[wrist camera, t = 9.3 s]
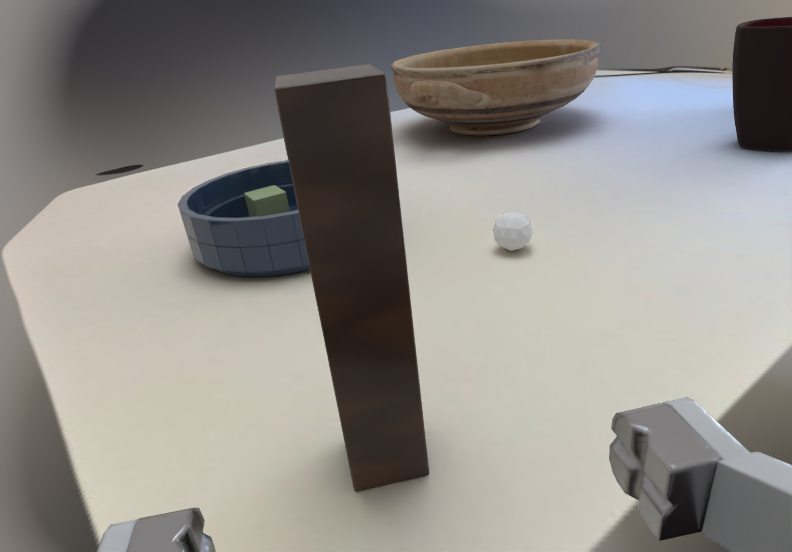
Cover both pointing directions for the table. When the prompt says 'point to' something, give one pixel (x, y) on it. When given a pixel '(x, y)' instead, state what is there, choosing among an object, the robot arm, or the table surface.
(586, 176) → the table surface
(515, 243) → the polyhedron
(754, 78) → the mug
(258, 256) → the bowl
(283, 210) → the block
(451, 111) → the ceramic bowl
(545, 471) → the table surface
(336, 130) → the stick
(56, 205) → the table surface
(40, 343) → the table surface
